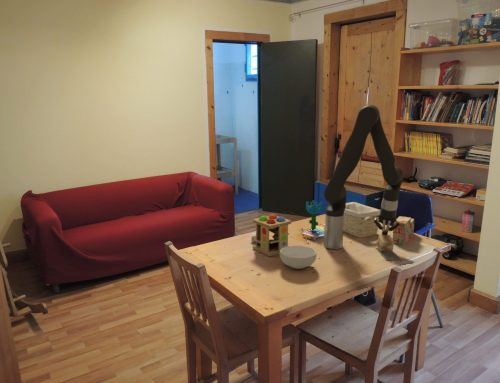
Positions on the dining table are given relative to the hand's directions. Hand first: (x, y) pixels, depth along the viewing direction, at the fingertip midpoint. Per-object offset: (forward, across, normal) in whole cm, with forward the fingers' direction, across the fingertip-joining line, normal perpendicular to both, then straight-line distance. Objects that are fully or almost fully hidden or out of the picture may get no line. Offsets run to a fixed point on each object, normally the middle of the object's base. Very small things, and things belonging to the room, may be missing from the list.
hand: (384, 236), depth 212 cm
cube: (+4, +1, -3) cm, 6 cm away
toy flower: (+13, -39, +14) cm, 43 cm away
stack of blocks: (+10, +10, +18) cm, 23 cm away
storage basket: (+13, -16, +23) cm, 31 cm away
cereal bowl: (+2, -37, -37) cm, 52 cm away
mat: (+4, +3, -9) cm, 10 cm away
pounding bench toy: (+8, -57, -18) cm, 61 cm away
